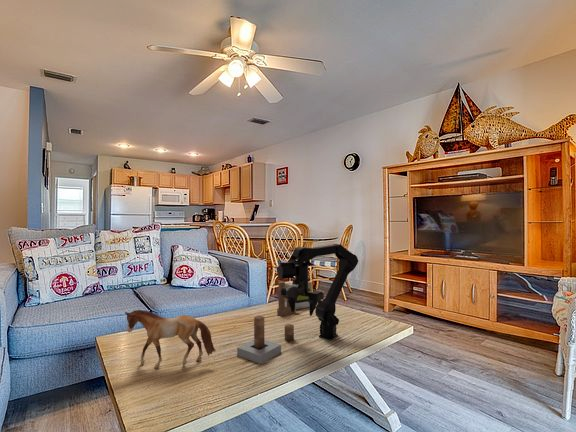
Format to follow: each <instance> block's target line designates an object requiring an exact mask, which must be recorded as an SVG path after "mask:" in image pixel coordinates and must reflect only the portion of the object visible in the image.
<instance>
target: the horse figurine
mask: <svg viewBox="0 0 576 432" xmlns="http://www.w3.org/2000/svg"><path fill="white" fill-rule="evenodd" d="M124 314H125V315H126V321H127V323H126V325H127V326H126V332H128V333H132V332H133V330H134V328H135V326H136V325H137V324H138V322H139V323H140V324H141V325H142V327H143V328H144V329H145V330H146V335H147V339H146V342H145V344H144V346H143V349H142V352H141V355H140V365H141V366H142V365H144V364H145V362H146V360H145V354H146V351H147V349H148V348H149V346H150V345H151V344H153V345H154V347H155V348H156V349H155V350H156V352H157V356H158V361H157V362H156V363H155V365H154V366H153V369H158V368H160V366H161V365H160V364H161V363H162V361H163V357H162V353H161V352H162V349H161V343H160V340H161V339H162V340H163V339H169V338H175V337H176V336H177V337H178V339H180V340H181V342H182V343H184V344H185V345H187V351H186V352H185V354H184V356H183V360H182V367H184V366H185V365H187V363H188V361H187V359H188V357H189V354H190V353H191V351H192V349H193V348H194V345H195V344H196V345H197V348H198V356H197V358H196V360H195V361H197V362H198V361H199V362H200V361H201V360H202V358H203V357H202V356H203V354H204V352H203V347H204V350H205V352H206V354H207V356H210V355H212V354H213V352H216V351H217V350H216V349H215V347H214V343H213V340H212V333H211V331H210V329H209V328H208V326H207V325H206V324H205V323H204V322H202V321H201V320H198V319H196V318H195V317H192V316H190V315H185V314H182V315H178V316H176V317H169V318H166V317H162V316H160V315H158V314H156V313H153V312H151V311H147V310H143V309H142V310H141V309H137V310H133V311H130V312H127V311H126V312H124ZM199 329H200V337H201V340H200V339H199V337H198V331H199ZM190 338H191V339H192V340H193V341H194V342H195V343H194V342H193V341H192V340H191V339H190ZM202 343H203V347H202Z"/></svg>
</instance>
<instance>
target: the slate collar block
mask: <svg viewBox="0 0 576 432" xmlns="http://www.w3.org/2000/svg"><path fill="white" fill-rule="evenodd" d="M264 344H265V348H263V349H261V350H258V349H255V348H254V339H253V340H250V341H248V342H246V343H243V344H241V345H239V346H237V347H236V355H237V356H238V357H241V358H243V359H246V360H249V361H251V362H253V363H257V364H259V365H261V364H263V363H265V362H267V361H268V360H271V359H272V358H273V357H275V356H277V355H279V354H280V353H282V344H280V343H276V342H274V341H270V340H267V339H264Z"/></svg>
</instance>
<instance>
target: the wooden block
mask: <svg viewBox="0 0 576 432" xmlns="http://www.w3.org/2000/svg"><path fill="white" fill-rule="evenodd" d="M285 282H286V281H278V282H277V283H278V288H277V289H278V293H277V295H278V308H277V309H276V311H277V313H276V315H277V316H279V317H284V316H287V315H291V314H294V313H295V312H296V309H294V312H292V311H291V308H290V305H289V302H288V300H287V299H286V298H285V297H283V296H284V295H281V289H282V288H284V287H285ZM285 302H287V307H285Z"/></svg>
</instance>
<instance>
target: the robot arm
mask: <svg viewBox="0 0 576 432" xmlns="http://www.w3.org/2000/svg"><path fill="white" fill-rule="evenodd" d="M329 255H335V258H337V259H338V262H337V264H338V265H337V266H338V269H337V272H336V274H335V276H334V278H333V281H332V283H331V285H330V288H329V289H328V292H327V294H326V296H325V294H324V292H323V291H319V290H314V291H313V290H312V292H308V291H310V288H308V282H311V278H309V267H312V266H314V264H313V263H312V262H311V260H313V259H315V258H317V257H321V256H329ZM358 258H359V257H358V256H357V255H356V254H353V252H351V251H350V250H349V249H347V248H345V246H343V245H342V244H339V243H334V244H328V245H321V246H316V247H308V246H297V247H294V248H293V251H292V254H291V255H290V257H289V259H288V260H287V261H285V262H284V261H279V263H278V266H277V269H276V274H277V275H276V276H277V277H278V279H279V280H285V279H292V281H293V284H292V285H290V286H288V287H284V288H282V289H281V295H284V296H283V297H285V298H286V299H287V300H288V302H289V305H290V308H291V311H292V312H294V309H295V299H296V298H297V297H298V296H299V295H301V296H306V297H308V298H309V301H308V302H309V304H310V307H309V317H312V316H313V315H314V313H315V316H316V317H317V319H318V321H319V322H320V324H319V335H318V337H319V338H321V339H326V340H328V341H330V340H331V341H332V340H335V338H337V337H338V336H339V334H338V333H337V326H338V325H339V323H340V319H339V318H338V317H337V316H336V315H335V314H336V307H337V306H336V303H337V301H338V298H339V296H340V294H341V291H342V290H343V288H344V285H345V283H346V280H347V278H348V275H350V273H351V272H353V271H354V270H355V269H356V266H357V265H358V264H359V259H358ZM293 278H294V279H293ZM324 297H325V298H324ZM295 310H296V309H295ZM294 313H295V312H294Z"/></svg>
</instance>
